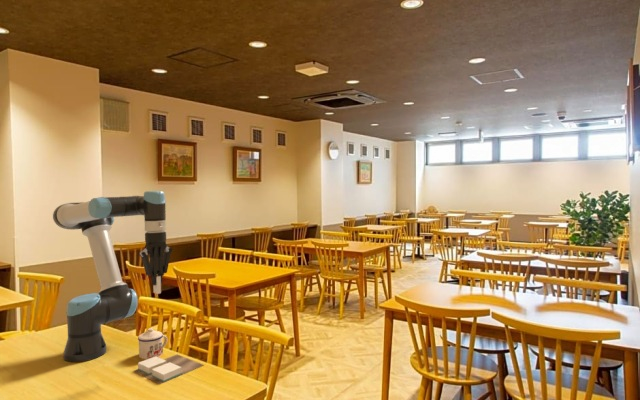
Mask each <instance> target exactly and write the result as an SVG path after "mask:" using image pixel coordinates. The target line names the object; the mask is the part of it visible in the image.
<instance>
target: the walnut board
mask: <svg viewBox="0 0 640 400" xmlns="http://www.w3.org/2000/svg"><path fill="white" fill-rule="evenodd" d="M162 359H163V360H166V361H167V363H169V362H170V363H173V364H175V365H177V366H180V367H181V368H182V374H181V375H179V376H176V377H174V378H172V379H169V380H167V381H165V382H163V381H161V380H159V379H156V378H154V377H152V374H150V375H148V374H146V373H144V372H142V371H140V370H138V368H137V369H135V370H133V372H134V373H135V374H138V375H139V376H142V377H144V378H146V379H148V380H150V381H152V382H154V383H155V384H158V385H162V384H164V383H167V382H169V381H171V380H174V379H176V378H178V377H181V376H183V375H186V374H188V373H190V372H193V371H195V370H197V369H199V368H201V367H205V364H203V363H200V362H197V361H194V360H192V359H190V358H188V357H184V356H182V355H180V354H178V353H177V354H174V355H172V356H169V357H166V358H162Z"/></svg>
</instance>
